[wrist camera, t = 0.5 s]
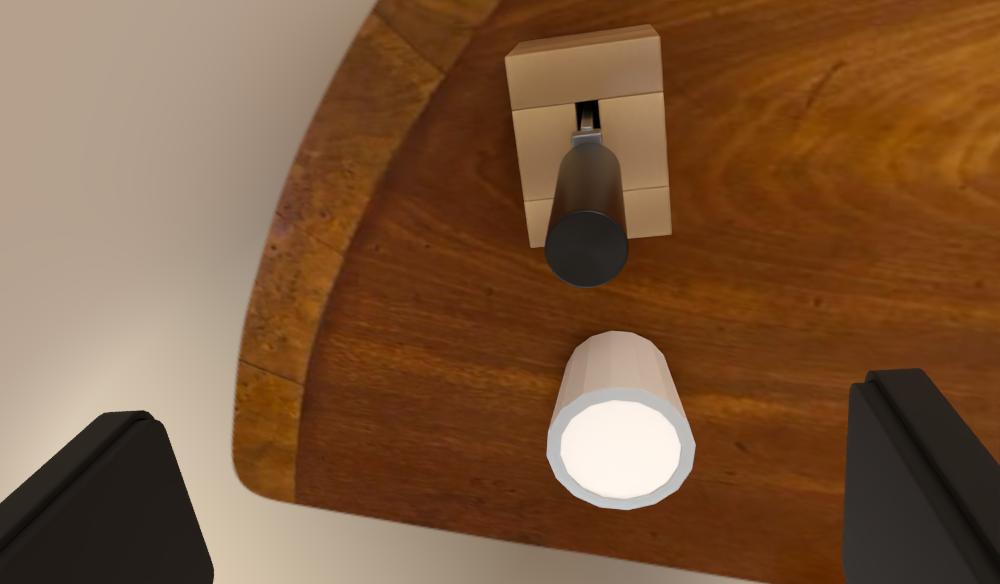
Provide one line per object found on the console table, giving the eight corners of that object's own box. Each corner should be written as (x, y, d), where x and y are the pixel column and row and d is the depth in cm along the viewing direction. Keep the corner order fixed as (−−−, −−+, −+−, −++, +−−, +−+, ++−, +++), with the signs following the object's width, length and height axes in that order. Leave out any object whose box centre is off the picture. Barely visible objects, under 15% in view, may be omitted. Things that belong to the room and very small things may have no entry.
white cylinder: (658, 442, 43) (669, 526, 36) (540, 412, 43) (530, 491, 36) (698, 338, 40) (717, 410, 34) (572, 305, 40) (566, 371, 34)
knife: (565, 91, 36) (537, 199, 19) (612, 85, 35) (623, 191, 19) (572, 154, 37) (551, 305, 21) (618, 148, 36) (632, 299, 20)
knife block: (518, 42, 35) (503, 56, 30) (650, 23, 34) (660, 35, 29) (539, 207, 38) (530, 248, 33) (661, 194, 37) (672, 235, 32)
